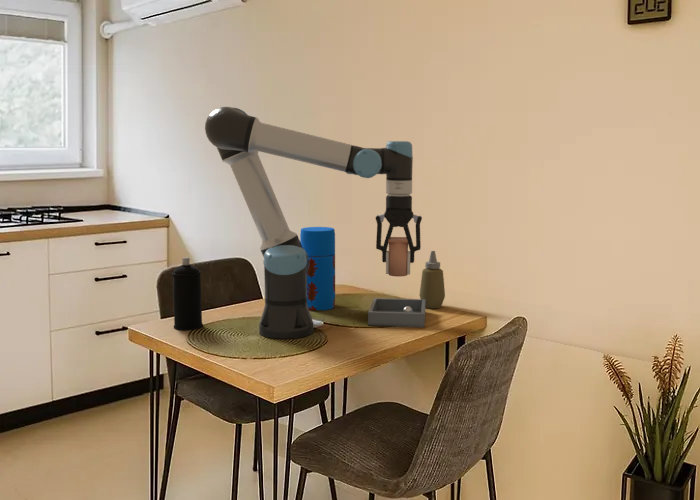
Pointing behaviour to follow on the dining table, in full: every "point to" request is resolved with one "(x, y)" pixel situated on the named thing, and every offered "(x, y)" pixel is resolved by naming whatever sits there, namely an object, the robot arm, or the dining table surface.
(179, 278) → the aerosol can
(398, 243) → the shaker
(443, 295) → the squeeze bottle
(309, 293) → the thermos
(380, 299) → the tray
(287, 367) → the dining table surface
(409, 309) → the ball
